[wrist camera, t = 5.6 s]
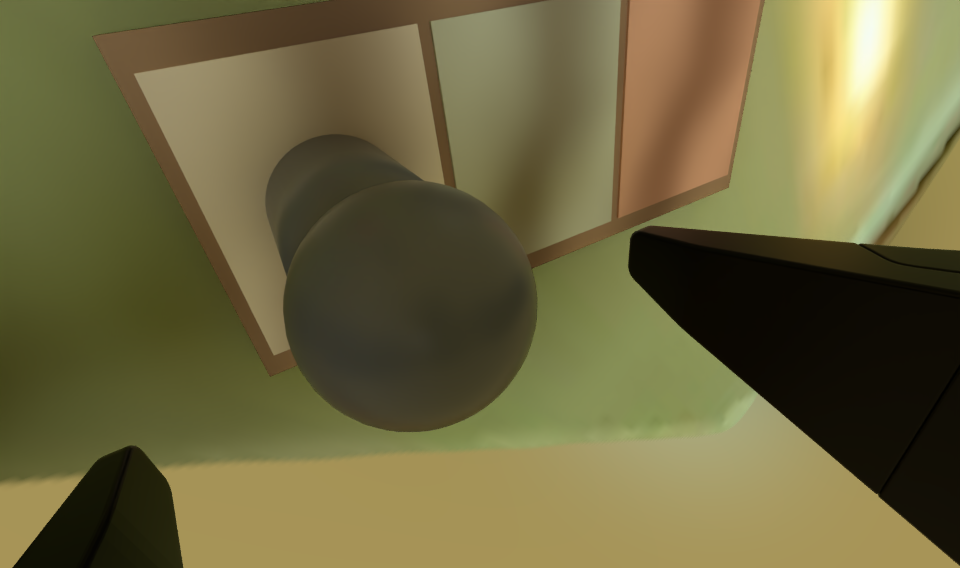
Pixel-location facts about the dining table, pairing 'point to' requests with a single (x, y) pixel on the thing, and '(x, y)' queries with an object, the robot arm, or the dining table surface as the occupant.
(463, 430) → the dining table surface
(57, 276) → the dining table surface
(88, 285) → the dining table surface
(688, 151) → the game board
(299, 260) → the pawn
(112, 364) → the dining table surface
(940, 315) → the robot arm
